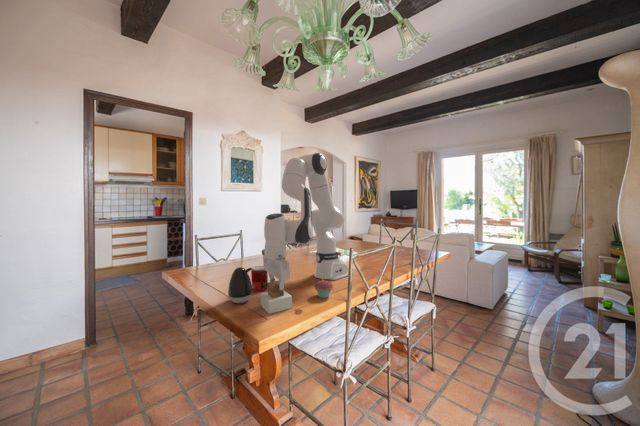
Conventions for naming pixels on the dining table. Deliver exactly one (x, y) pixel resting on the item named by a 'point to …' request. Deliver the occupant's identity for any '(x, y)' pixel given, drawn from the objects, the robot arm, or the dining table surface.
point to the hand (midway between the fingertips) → (276, 285)
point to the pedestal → (276, 302)
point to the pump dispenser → (240, 286)
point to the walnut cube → (274, 289)
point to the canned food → (259, 278)
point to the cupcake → (323, 287)
